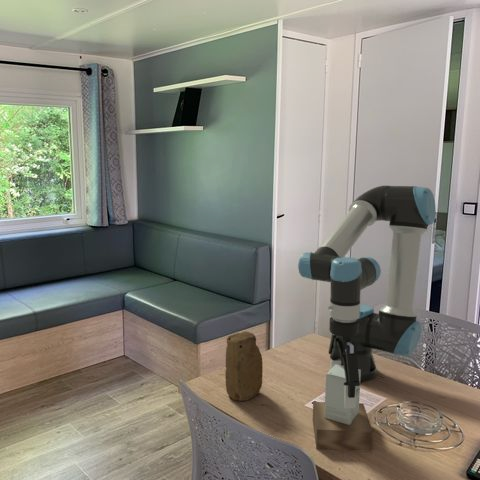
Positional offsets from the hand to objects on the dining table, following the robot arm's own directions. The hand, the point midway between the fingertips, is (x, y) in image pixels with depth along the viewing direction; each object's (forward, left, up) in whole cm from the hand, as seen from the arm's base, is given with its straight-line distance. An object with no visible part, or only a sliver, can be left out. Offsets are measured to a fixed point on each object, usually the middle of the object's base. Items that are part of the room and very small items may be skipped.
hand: (342, 394), depth 129 cm
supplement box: (0, 0, -6) cm, 6 cm away
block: (+24, -24, -12) cm, 36 cm away
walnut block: (0, 0, -12) cm, 12 cm away
